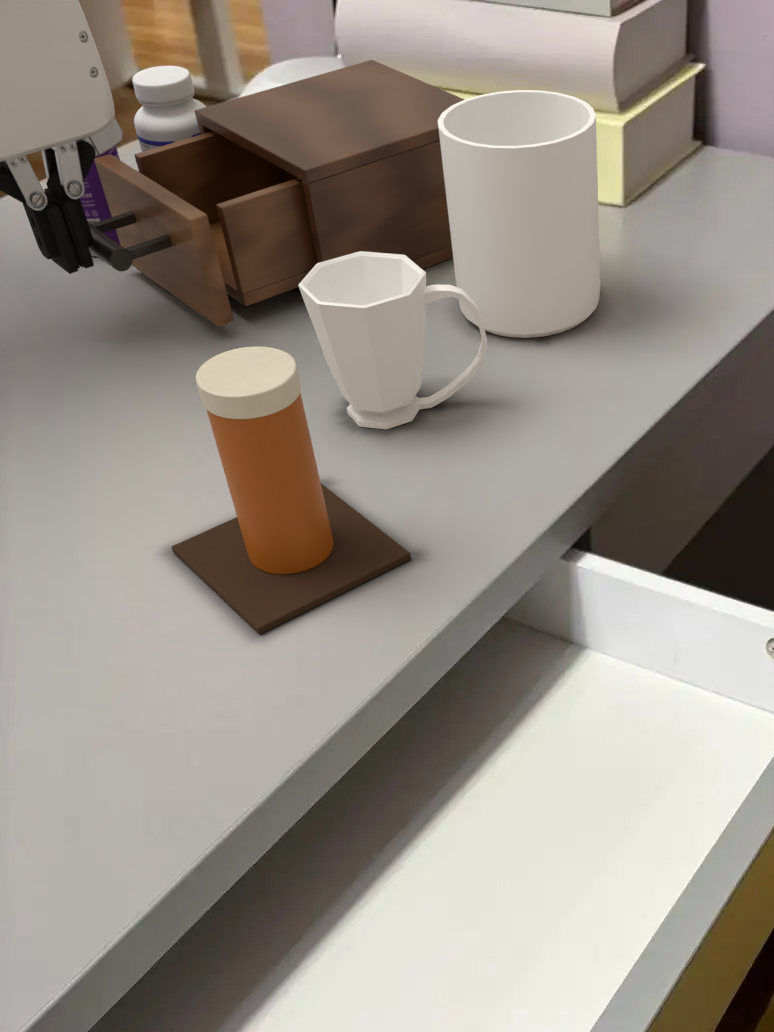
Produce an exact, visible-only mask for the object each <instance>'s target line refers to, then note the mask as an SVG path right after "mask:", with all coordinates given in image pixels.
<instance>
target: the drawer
mask: <svg viewBox="0 0 774 1032" xmlns="http://www.w3.org/2000/svg"><path fill="white" fill-rule="evenodd" d="M134 158H135V162H136V166H137V169H138V170H137V169H135V168H133V167H131V166H130V165H129V164H127V163H125V162H124V161H122V160H121V159H120V160H119V159H117V158H116V157H114V156H112V155H111V154H108V155H105V156H101V157H98V158H95V159H94V161H95V164H96V167H97V170H98V174H99V177H100V180H101V183H102V187H103V190H104V193H105V196H106V200H107V203H108V206H109V209H110V212H111V216H112V217H111V218H108V219H104V220H101V221H98V222H95V223H92V224H90V223H88V224H89V227H90V230H91V234H92V237H93V240H94V245H92V246H89V250H90V251H91V252H92V253H94V254H95V255H97V256H98V257H97V258H99V259H101V260H102V261H103V262H104V263H106V264H107V265H109V266H110V267H112V268H113V269H114V270H115V271H118V272H125V271H128V270H130V268H131V267H132V266H133V267H134V268H135V269H137V270H138V271H139V272H141V273H142V274H143V275H145V276H146V277H148V278H149V279H151V280H152V281H153V282H155V283H156V284H158V285H159V286H160V287H162V288H163V289H165V290H166V291H168V292H169V293H170V294H172V295H173V296H174V297H176V298H177V299H179V300H180V301H181V302H183V303H184V304H185V305H187V306H188V307H190V308H191V309H192V310H194V311H195V312H197V313H198V314H200V315H201V316H202V317H204V319H206V320H208V321H210V323H212V324H213V325H215V326H216V327H218V328H219V327H223V326H225V325H227V324H230V323H232V322H234V321H235V319H234V315H233V311H232V308H231V304H230V299H229V297H231V298H233V300H236V301H237V302H239V303H240V304H242V305H243V306H244V307H248V306H251V305H253V304H256V303H259V302H261V301H265V300H267V299H270V298H272V297H275V296H278V295H280V294H283V293H286V292H289V291H291V290H295V289H297V288H299V286H298V285H299V284H300V282H301V281H302V280H303V279H304V278H305V277H306V275H307V274H308V273H309V272H310V271H311V270H312V268H313V267H314V266H315V265H316V264H317V263H318V261H317V256H316V251H315V246H314V241H313V236H312V230H311V225H310V220H309V215H308V210H307V205H306V200H305V194H304V189H303V184H302V180H301V179H299V178H297V177H296V176H294V175H292V174H290V173H288V172H286V171H285V170H283V169H281V168H279V167H277V166H276V165H274V164H272V163H270V162H268V161H266V160H265V159H263V158H261V157H259V156H257V155H256V154H254V153H252V152H250V151H248V150H246V149H245V148H243V147H241V146H239V145H237V144H236V143H234V142H232V141H230V140H228V139H226V138H225V137H223V136H221V135H219V134H217V133H216V132H214V131H212V132H208V133H205V134H201V135H198V136H195V137H191V138H188V139H185V140H181V141H178V142H174V143H171V144H168V145H164V146H161V147H158V148H154V149H151V150H147V151H144V152H142V151H140V152H137V153H134ZM115 229H116V232H117V235H118V238H119V242H120V244H118V243H117V242H115V241H114V240H112V239H111V238H110V237H108V236H107V235H105V234H104V233H106V232H109V231H112V230H115Z"/></svg>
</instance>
